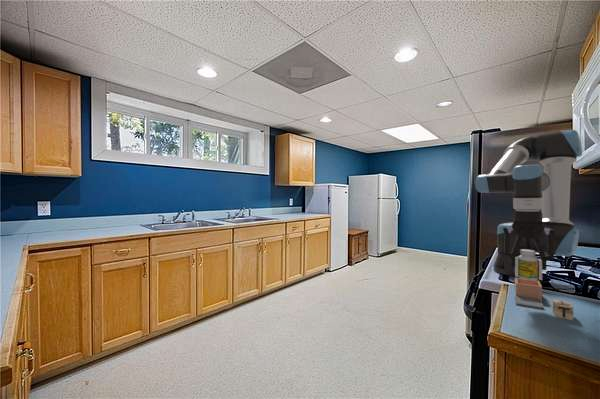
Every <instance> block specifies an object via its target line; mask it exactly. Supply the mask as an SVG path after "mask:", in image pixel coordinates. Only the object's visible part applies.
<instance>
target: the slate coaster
mask: <svg viewBox="0 0 600 399" xmlns="http://www.w3.org/2000/svg"><path fill="white" fill-rule="evenodd" d="M514 300H515V304H516V305H515V306H522V307H527V308H532V309H533V308H534V309H538V310H539V309H540V310H544V309H545V307H544V304H543V301H541V300H537V299H531V298H525V297H518V296H516V295H514Z"/></svg>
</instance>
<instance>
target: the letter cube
mask: <svg viewBox="0 0 600 399" xmlns="http://www.w3.org/2000/svg"><path fill="white" fill-rule="evenodd" d="M552 313H553V315H554V316H553V317H555V318H559V319H564V320H569V321H574V307H573V304H572V303H571V302H570V301H563V300H562V301H561V300H557V299H552Z"/></svg>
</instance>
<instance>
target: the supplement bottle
mask: <svg viewBox="0 0 600 399" xmlns="http://www.w3.org/2000/svg"><path fill="white" fill-rule="evenodd" d="M520 254H521V255H520V256H518V276H519V277H518V278H520V279H526V280H536V281H539V271H538V259H539V258H538V257H537V256H536V253H535V251H534V250H528V249H521V250H520Z"/></svg>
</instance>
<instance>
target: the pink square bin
mask: <svg viewBox="0 0 600 399" xmlns="http://www.w3.org/2000/svg"><path fill="white" fill-rule="evenodd" d="M514 292H515V296H518V297H525V298H531V299H537V300H541V302H543V286H542V284H541V282H540V280H526V279H522V278H520V277H514Z"/></svg>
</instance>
